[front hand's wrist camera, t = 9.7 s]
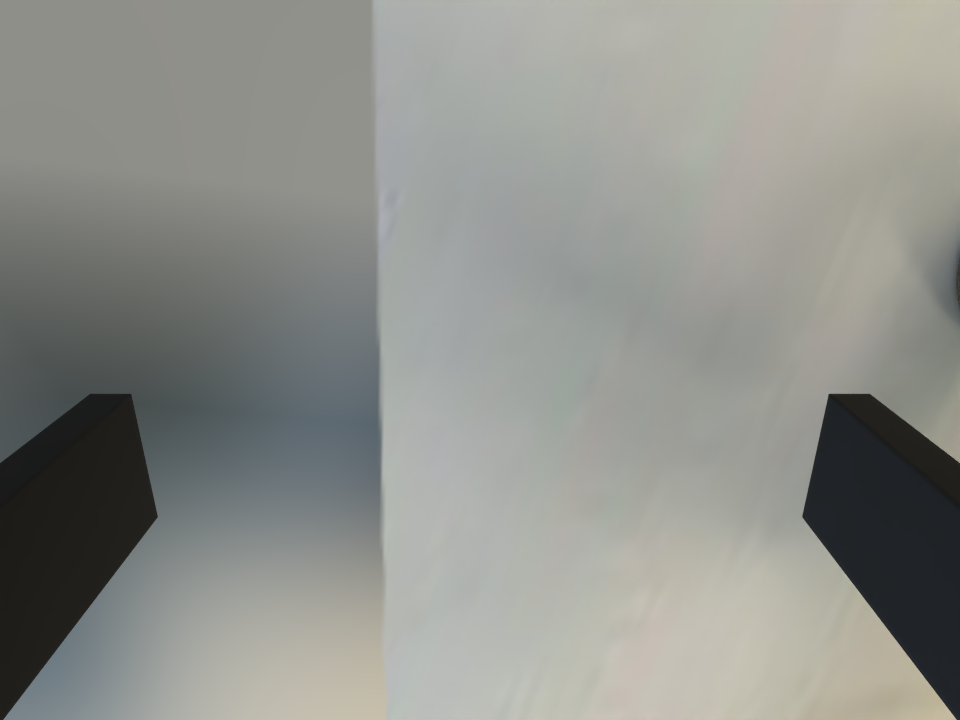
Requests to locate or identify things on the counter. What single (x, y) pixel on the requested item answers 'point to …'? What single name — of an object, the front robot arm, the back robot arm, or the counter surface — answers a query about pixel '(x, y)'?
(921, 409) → the counter surface
